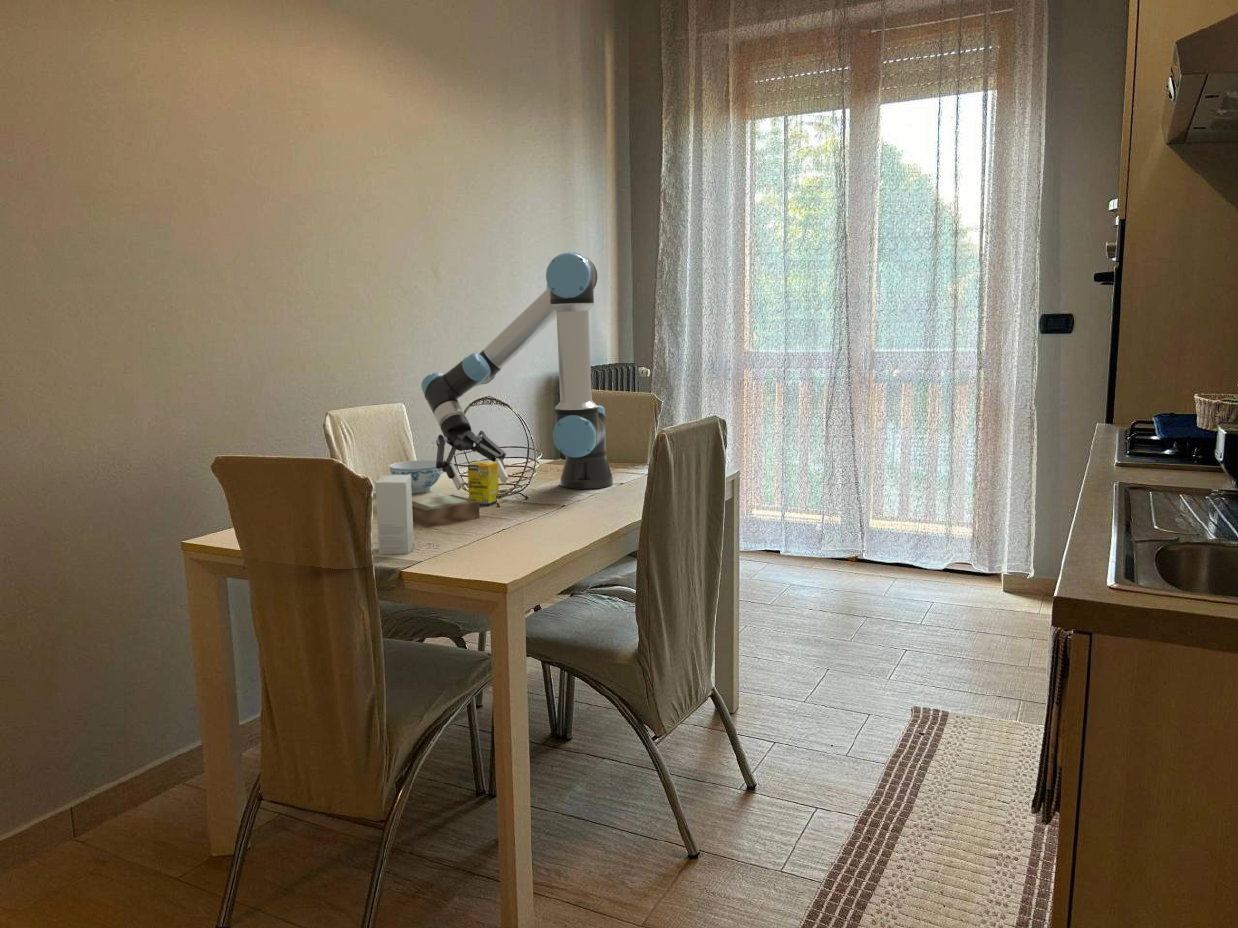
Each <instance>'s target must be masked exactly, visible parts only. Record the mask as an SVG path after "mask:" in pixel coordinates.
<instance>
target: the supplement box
mask: <svg viewBox="0 0 1238 928" xmlns="http://www.w3.org/2000/svg"><path fill="white" fill-rule="evenodd" d="M467 480H468V481H467V482H468V499H470V500H474V501H477V502H479V505H483V507H491V506H493V504H494V505H496V504H497V503H496V502H497V499H496V495H497V494H499V495H500V492H499V491H500V490H499V475H498V462H493V461H480V460H479V461H478V460H477V461H475V462H471V463H468V464H467ZM495 503H496V504H495ZM490 505H491V506H490Z"/></svg>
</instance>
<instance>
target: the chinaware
mask: <svg viewBox="0 0 1238 928" xmlns="http://www.w3.org/2000/svg"><path fill="white" fill-rule="evenodd" d="M388 468H389V470H390V473H391V474H390V475H409V474H410V475H411V489H412V494H422V493H427V492H429V491H431V487H433V486H434V485H435V484H436V483H437V482H438V480H439V479H440V478H441V475H442V472H443V471H442V468H440V469H437V468H436V460H429V459H426V460H425V459H424V460H422V459H421V460H418V459H417V460H406V461H399V462H395V463H391V464H389V467H388Z"/></svg>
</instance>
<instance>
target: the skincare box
mask: <svg viewBox="0 0 1238 928" xmlns="http://www.w3.org/2000/svg"><path fill="white" fill-rule="evenodd" d="M412 494H413V493H412V489H411V475H410V474H409V475H392V474H384V475H383V474H382V475H381V476H380V477H379V479H377V480H376V482H375V495H376V497H375V499H376V515H377V516H376V518H377V519H376V520H377V539H378V540H377V541H378V555H379V556H385V555H387V556H388V555H389V554H390V555H409V554H410V552H411V550H412V548H413V546H414V544H415V542H414V541H415V540H414V538H415V537H414V522H413V513H412V501H413V495H412ZM390 555H389V556H390Z"/></svg>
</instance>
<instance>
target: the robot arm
mask: <svg viewBox="0 0 1238 928" xmlns="http://www.w3.org/2000/svg"><path fill="white" fill-rule="evenodd" d="M545 281H546V286H545V287H546V289H545V290H544V291H543V292H542V293H541V294H540V295H539V296H538V297H537V298H536V299H535V300H534V301H533V302H532V303H531V304H529V306H527V307H526V309H524V310H523V311H522V312H521V313H520V314H519V315H518V316H517V317H516V318H515V319H514V320H513V321H512V322H510V324H509V325H508V326H506V328H504V329H503V330H502V331H501V332H500V333H499V334H498V335H497V336H496V337H495V338H494V339H493V340H492V341H490V343H489V344H488V345H487V346H486V347H484V348H483V349H482V350H481V352H479V353H477V352H472V353H470V354H469V355H467V356H465V357H464V358H463V360H461V361H460V362H458V363H457V365H454V367H451V369H450V370H449V371H447V372H446V373H443V372H438V371H437V372H432V374H428V375H426V376H425V377H424V378H423V379H422V382H421V385H420V386H421V390H422V393H423V395H424V398H425V400H426V402H427V404H428V405H429V407H430V410H431V411H432V414H433V415H434V417H435V420H436V422H437V423H438V426H439V428H440V430H441V433H442V434H439V435H438V437H437V439H436V440H435V441H436V442H435V443H436V446H437V451H436V460H435V461H436V468H437V469H440V468H442V472H444V473H446V475H447V477H448V479H451V481H452V482H453V485H454V486H455V489H456V490H457V491H460V490H461V488H462V486H463V485H464V482H463V480H462V478H461V476H460V474H459V472H458V469H457V467H456V466H455V463H452V460H453V458H454V456H455V454H456V451H459V452H462V451H470V450H471V451H473V452H477V453H478V454H480V455H481V456H484V458H487V460H489V461H490V462H498V478H499V479H500V482H501V483H502V484H506V482H507V480H508V479H509V475H508V474H507V471H506V468H507V467H506V465H505V463H504V459H505V458H506V456H507V453H506V451H504V450H503V449H502V447H501V448H500V447H499V445H498V444H497V443H495V442H493V440H491V438H489V436H488V435H487V434H486V433H485V431H483V430H480V431H479V432H478V433H474V432H473V430H472V427H471V424H470V421H469V420H468V418H467V417H466V415H465V412H464V410H463V408H462V406H461V404H460V402H459V400H458V399H460V397H461V398H462V396H464V394H466V393H467V392H469V391H470V390H472V389H473V388H474V387H478V386H481V385H486V384H487V385H488V384H489V383H490V382H492V381H493V380H494V379H495V377H496V375H497V374H498V373H499V372H500V371H501V370H502V369H503V368H504V367H505V366H506V365H508V363H509V362H511V360H513V359H514V358H515V357H516V356H517V355H518V354H519V353H520V352H521V351H522V350H523V349H524V348H525V347H527V346H528V345H529V344H530V343H531V342H532V341H533V340H534V339H535V338H536V337H537V336H539V334H540V333H541V332H543V330H545V329H546V328H548V326H549V325H550V324H551V323H552V322H554V320H555V319H556V331H557V332H556V333H557V334H556V335H557V353H558V354H557V355H558V377H559V378H558V381H559V402H558V404H557V405H556V406H554V414H555V415H554V417H555V418H554V419H555V420H554V421H555V425H554V428H553V431H552V439H553V443H554V446H555V447H556V449H557V450H558V451H559V452H560V453H561V454H563V455H564V456H565V460H564V465H563V468H562V471H561V476H560V479H559V480H560V487H563V488H567V489H575V490H576V489H577V490H589V489H592V490H594V489H601V488H602V489H603V488H606V487H607V488H608V487H610V486H612V485H613V484H614V483H613V481H614V479H613V474H612V472H611V467H610V464H609V462H608V460H607V459H608V458H607V443H606V442H607V441H606V440H607V437H606V418H607V415H606V411H605V407H604V406H602V405H597V404H596V403H595V401H593V399H592V398H593V396H592V368H591V344H590V342H591V340H590V339H591V338H590V315H589V314H590V313H589V312H590V309H591V308H592V307H593V306H595V301H594V300H595V299H594V298H595V296H594V289H595V287H596V286H597V283H598V271H597V268H596V266H595V264H594V263H593V261H592V260H591V259H589V258H587V257H586V256H583V255H582V254H580V253H577V252H569V251H568V252H564V253H560V254H559V255H557V256H555V257H554V258H552V259H551V261H550V262H549V264H548V266H547V267H546V272H545ZM446 444H448V445H449V446H451V449H450V451H449V453H448V456H447V457H446V460H445V461H444V457H445V456H444V455H445V445H446ZM474 444H475V445H474Z"/></svg>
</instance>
